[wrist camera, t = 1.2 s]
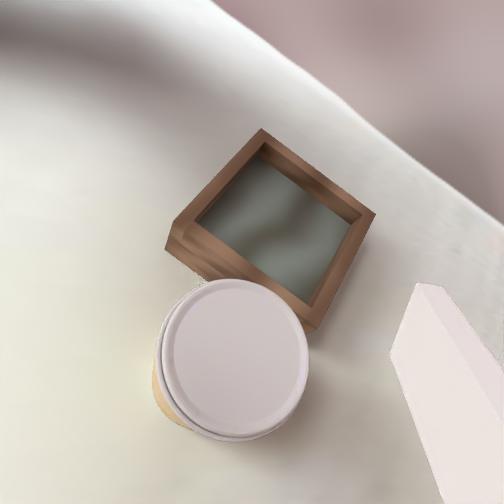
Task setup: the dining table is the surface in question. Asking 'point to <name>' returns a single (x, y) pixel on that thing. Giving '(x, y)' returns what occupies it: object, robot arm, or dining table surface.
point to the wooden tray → (273, 228)
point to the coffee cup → (230, 361)
